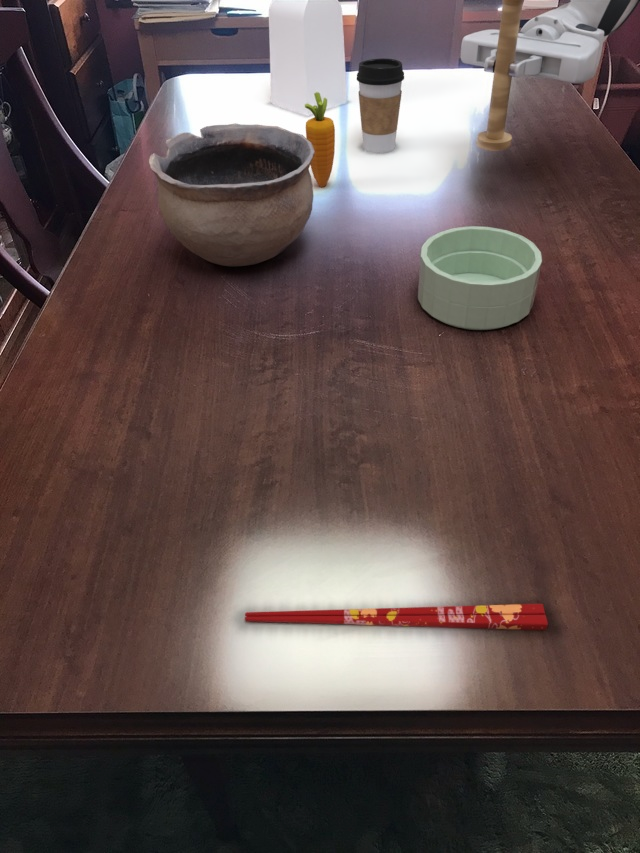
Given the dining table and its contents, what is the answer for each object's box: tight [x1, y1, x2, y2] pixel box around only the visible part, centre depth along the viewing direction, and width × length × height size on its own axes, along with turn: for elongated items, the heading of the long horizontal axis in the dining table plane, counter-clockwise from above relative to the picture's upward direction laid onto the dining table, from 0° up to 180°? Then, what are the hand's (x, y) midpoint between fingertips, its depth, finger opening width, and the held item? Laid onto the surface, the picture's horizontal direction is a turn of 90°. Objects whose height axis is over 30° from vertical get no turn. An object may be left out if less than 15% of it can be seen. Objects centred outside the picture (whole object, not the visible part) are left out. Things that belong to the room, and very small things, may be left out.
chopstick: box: [244, 603, 549, 631], centre depth 55 cm, size 2×24×1 cm, turn 89°
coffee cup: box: [356, 57, 405, 154], centre depth 124 cm, size 8×8×15 cm
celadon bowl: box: [417, 225, 543, 331], centre depth 87 cm, size 15×15×7 cm
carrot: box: [305, 92, 336, 188], centre depth 112 cm, size 5×5×15 cm
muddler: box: [476, 0, 525, 152], centre depth 99 cm, size 5×5×21 cm
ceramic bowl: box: [148, 123, 315, 267], centre depth 97 cm, size 22×22×15 cm
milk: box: [268, 0, 348, 117], centre depth 141 cm, size 12×12×26 cm
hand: (501, 68), depth 98 cm, fingers closed on muddler, 2 cm apart
